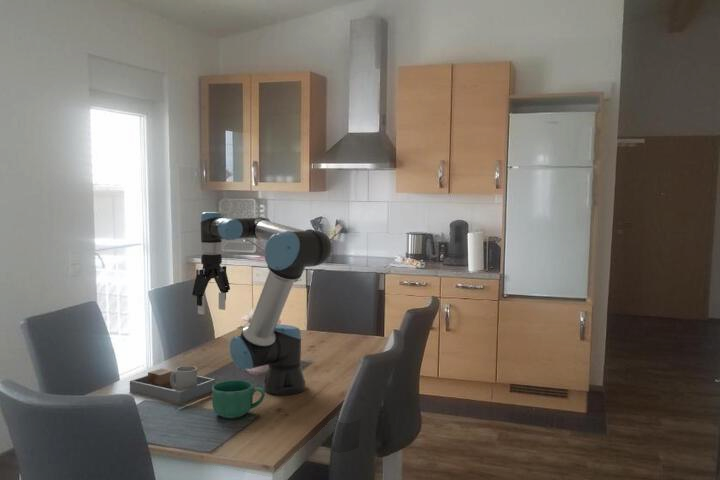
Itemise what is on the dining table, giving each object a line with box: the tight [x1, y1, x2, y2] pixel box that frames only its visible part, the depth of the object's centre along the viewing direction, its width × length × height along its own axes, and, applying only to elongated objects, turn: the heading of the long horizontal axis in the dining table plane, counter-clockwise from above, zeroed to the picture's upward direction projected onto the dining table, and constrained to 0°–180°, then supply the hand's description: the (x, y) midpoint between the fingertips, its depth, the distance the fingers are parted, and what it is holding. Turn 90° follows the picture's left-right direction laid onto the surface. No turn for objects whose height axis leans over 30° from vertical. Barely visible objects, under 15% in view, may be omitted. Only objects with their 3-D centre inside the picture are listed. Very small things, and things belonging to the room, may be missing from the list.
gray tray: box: [129, 368, 216, 405], centre depth 219 cm, size 24×17×4 cm
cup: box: [170, 365, 198, 391], centre depth 216 cm, size 7×10×9 cm
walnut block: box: [147, 368, 174, 389], centre depth 222 cm, size 6×6×6 cm
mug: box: [211, 379, 266, 419], centre depth 198 cm, size 17×13×10 cm
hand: (211, 311), depth 233 cm, fingers open, 11 cm apart
